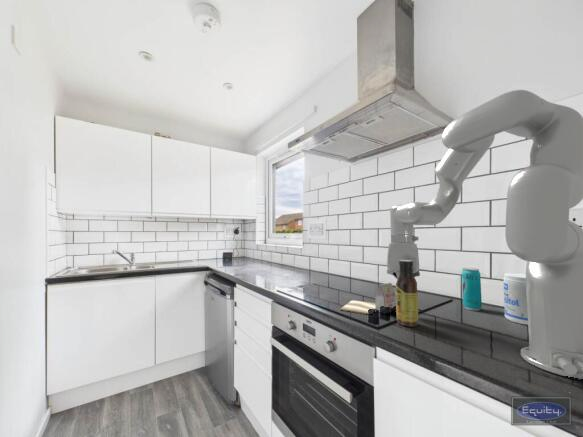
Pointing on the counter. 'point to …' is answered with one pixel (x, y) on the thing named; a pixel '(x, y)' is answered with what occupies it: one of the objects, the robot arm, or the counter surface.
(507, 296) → the supplement tub
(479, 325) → the counter surface
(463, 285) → the beverage can
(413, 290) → the sauce bottle
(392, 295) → the tea bag
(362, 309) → the cream folded towel
